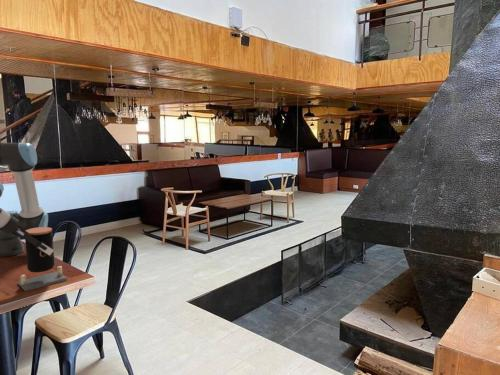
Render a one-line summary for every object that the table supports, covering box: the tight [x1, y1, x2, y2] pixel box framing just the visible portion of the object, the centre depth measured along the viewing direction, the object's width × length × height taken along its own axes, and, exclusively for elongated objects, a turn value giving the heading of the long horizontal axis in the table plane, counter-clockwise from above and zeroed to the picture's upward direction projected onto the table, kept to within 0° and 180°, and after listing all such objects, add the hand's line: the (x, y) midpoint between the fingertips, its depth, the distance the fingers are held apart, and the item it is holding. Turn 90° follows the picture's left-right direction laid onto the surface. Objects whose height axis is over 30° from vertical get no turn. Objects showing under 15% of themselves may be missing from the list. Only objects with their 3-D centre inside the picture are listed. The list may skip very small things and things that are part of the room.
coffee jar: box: [24, 226, 55, 273], centre depth 163 cm, size 11×11×18 cm
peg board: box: [17, 265, 68, 292], centre depth 165 cm, size 17×11×5 cm, turn 137°
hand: (47, 249), depth 165 cm, fingers closed on coffee jar, 11 cm apart
